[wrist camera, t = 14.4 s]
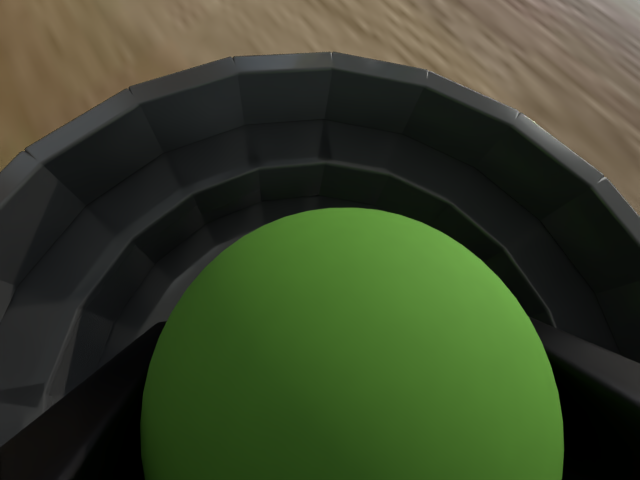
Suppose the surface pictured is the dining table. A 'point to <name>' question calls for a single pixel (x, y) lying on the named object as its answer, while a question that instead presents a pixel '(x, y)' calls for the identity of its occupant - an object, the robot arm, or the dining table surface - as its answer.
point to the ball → (349, 362)
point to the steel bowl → (287, 203)
